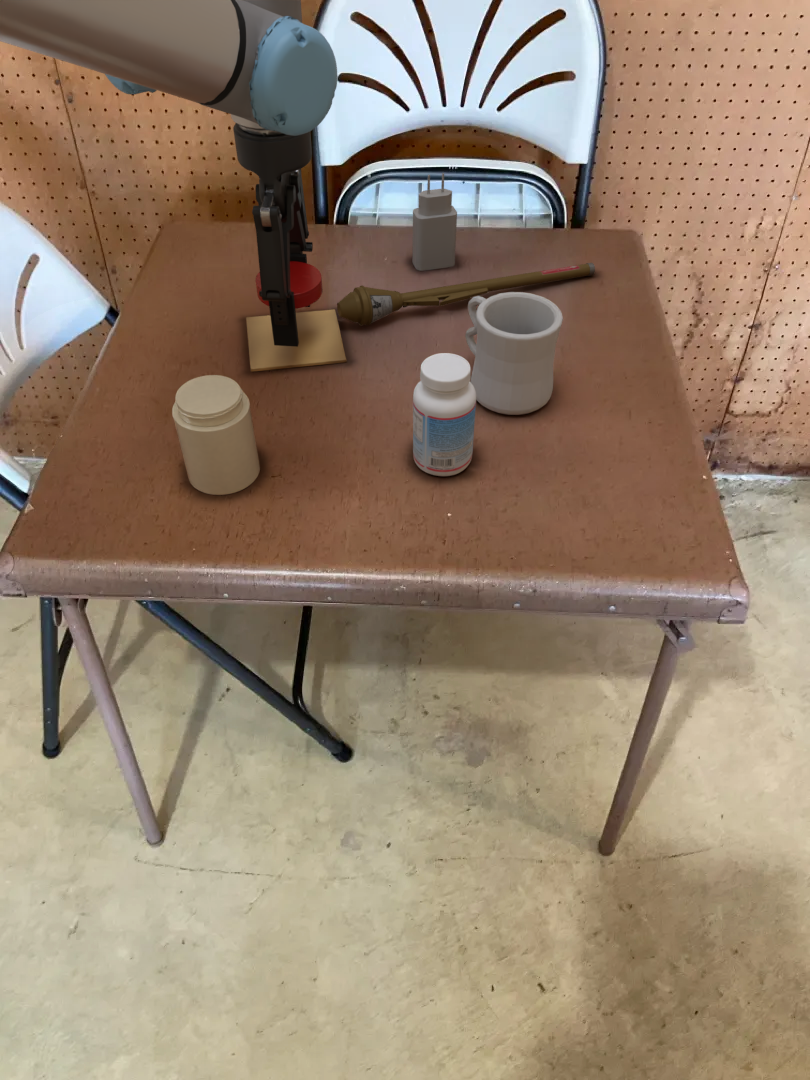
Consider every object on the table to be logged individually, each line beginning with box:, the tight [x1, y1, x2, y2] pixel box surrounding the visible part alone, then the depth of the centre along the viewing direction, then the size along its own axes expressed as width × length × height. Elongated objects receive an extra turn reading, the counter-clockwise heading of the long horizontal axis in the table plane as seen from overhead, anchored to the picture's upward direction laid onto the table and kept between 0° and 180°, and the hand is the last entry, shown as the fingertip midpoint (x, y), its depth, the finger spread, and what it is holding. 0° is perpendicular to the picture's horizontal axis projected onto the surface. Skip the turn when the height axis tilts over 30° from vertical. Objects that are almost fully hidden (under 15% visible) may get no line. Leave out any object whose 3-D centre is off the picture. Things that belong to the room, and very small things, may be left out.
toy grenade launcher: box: [336, 262, 596, 327], centre depth 106 cm, size 5×35×5 cm
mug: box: [464, 291, 564, 416], centre depth 91 cm, size 12×9×10 cm
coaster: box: [245, 308, 347, 373], centre depth 100 cm, size 11×11×1 cm
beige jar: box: [171, 374, 261, 496], centre depth 81 cm, size 7×7×10 cm
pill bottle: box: [412, 352, 477, 477], centre depth 82 cm, size 6×6×11 cm
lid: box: [254, 261, 324, 310], centre depth 95 cm, size 8×7×2 cm
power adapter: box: [411, 172, 458, 272], centre depth 109 cm, size 3×5×12 cm, turn 105°
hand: (293, 323), depth 99 cm, fingers open, 8 cm apart
